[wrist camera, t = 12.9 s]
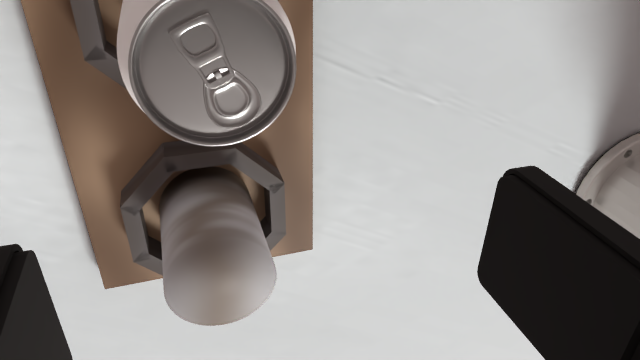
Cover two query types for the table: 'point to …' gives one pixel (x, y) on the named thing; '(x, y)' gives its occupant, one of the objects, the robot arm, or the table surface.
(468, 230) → the table surface
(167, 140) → the brown cup holder tray
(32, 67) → the table surface
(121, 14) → the can
